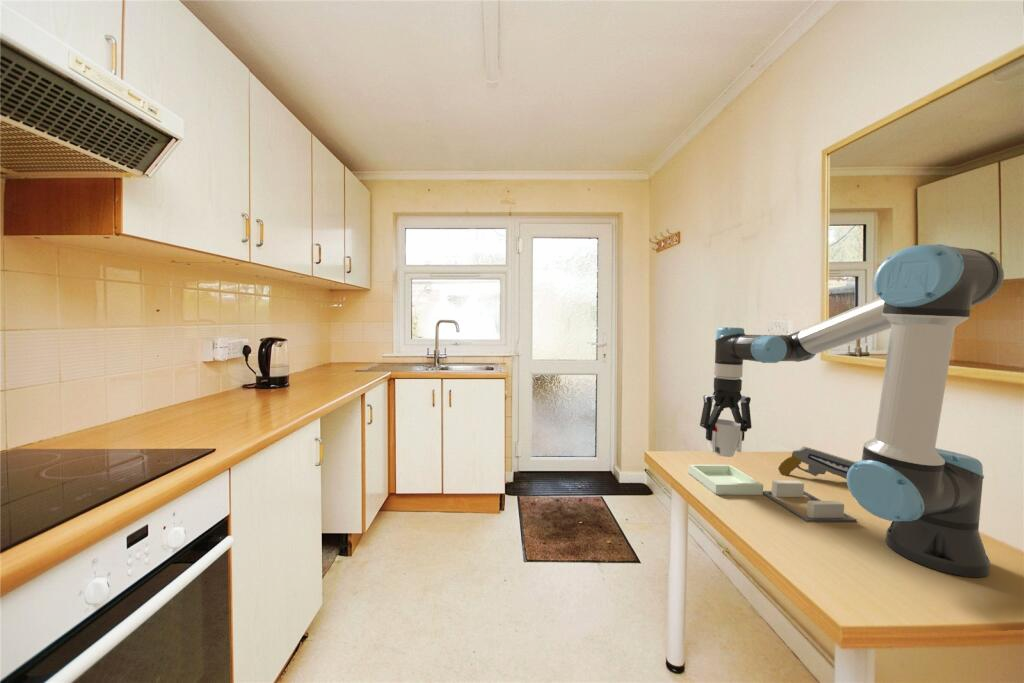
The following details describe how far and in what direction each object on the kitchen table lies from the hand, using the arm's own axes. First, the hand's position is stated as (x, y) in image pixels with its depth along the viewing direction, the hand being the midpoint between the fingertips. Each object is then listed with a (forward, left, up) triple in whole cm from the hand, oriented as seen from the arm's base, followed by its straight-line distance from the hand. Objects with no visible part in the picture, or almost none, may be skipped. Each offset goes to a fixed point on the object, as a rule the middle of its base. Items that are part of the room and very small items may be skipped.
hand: (724, 450), depth 121 cm
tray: (0, 0, -10) cm, 10 cm away
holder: (-15, -14, -10) cm, 23 cm away
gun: (+3, -37, -11) cm, 38 cm away
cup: (0, 0, -1) cm, 1 cm away
